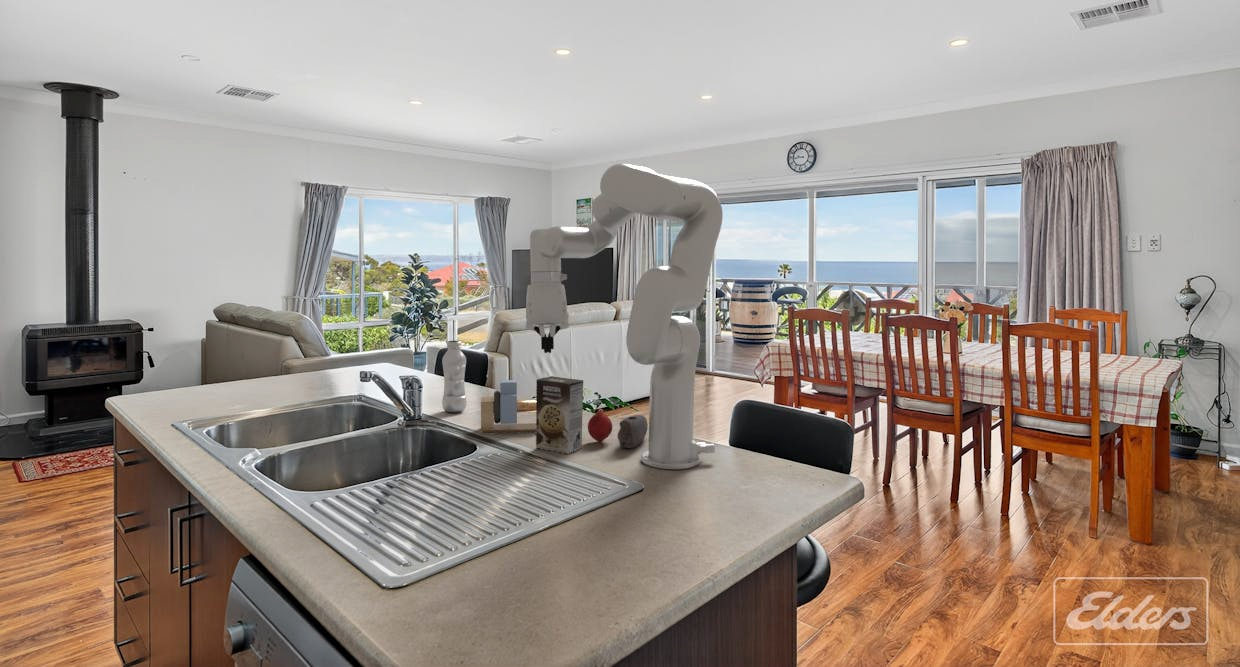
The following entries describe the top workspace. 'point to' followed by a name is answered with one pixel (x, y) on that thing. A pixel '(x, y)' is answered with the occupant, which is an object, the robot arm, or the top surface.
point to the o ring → (497, 407)
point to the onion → (599, 426)
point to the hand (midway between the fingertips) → (547, 352)
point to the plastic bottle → (454, 378)
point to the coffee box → (559, 414)
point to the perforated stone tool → (632, 431)
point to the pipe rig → (490, 427)
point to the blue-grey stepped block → (508, 401)
